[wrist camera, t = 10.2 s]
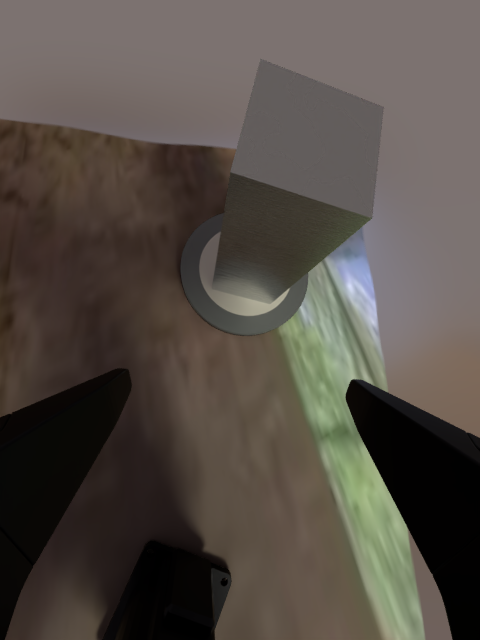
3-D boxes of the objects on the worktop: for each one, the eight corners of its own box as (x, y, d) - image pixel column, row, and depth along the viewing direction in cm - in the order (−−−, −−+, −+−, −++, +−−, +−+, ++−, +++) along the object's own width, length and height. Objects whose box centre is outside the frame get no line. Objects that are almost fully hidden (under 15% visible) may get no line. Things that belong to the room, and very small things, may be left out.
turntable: (276, 356, 20) (281, 356, 19) (158, 301, 19) (155, 297, 18) (318, 252, 23) (324, 246, 22) (214, 199, 22) (215, 189, 21)
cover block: (270, 304, 20) (372, 218, 8) (211, 289, 19) (230, 172, 7) (280, 251, 21) (383, 106, 9) (225, 234, 20) (260, 58, 9)
